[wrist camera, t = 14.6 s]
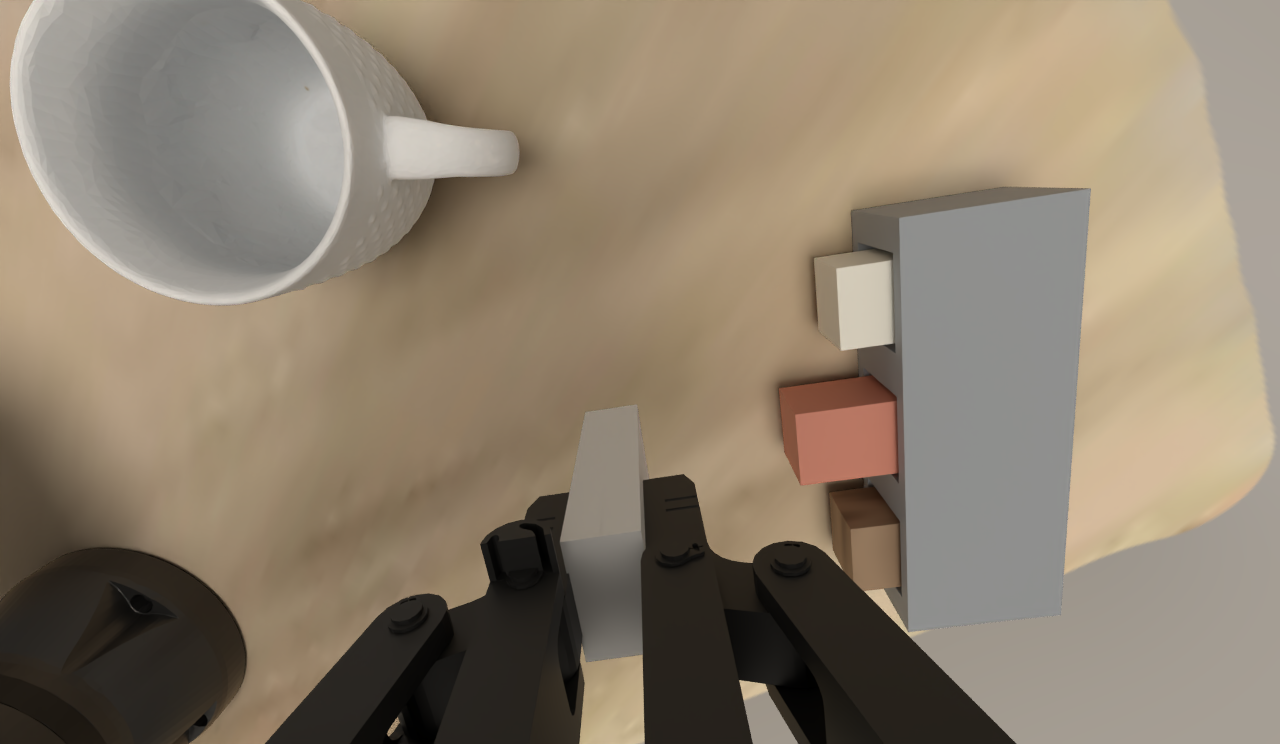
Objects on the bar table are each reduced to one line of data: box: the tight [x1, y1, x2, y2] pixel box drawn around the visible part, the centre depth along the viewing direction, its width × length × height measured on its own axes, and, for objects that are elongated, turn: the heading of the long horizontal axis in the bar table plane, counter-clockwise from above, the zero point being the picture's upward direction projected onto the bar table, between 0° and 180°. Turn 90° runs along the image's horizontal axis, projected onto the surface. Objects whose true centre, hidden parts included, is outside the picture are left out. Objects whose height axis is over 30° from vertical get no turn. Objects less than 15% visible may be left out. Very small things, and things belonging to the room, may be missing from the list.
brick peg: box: [779, 375, 899, 485], centre depth 32 cm, size 9×4×4 cm, turn 99°
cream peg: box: [814, 248, 895, 351], centre depth 30 cm, size 9×4×4 cm, turn 99°
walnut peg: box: [829, 487, 902, 591], centre depth 34 cm, size 9×4×4 cm, turn 99°
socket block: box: [851, 187, 1091, 632], centre depth 32 cm, size 8×22×6 cm, turn 9°
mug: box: [10, 0, 520, 305], centre depth 25 cm, size 15×11×13 cm
